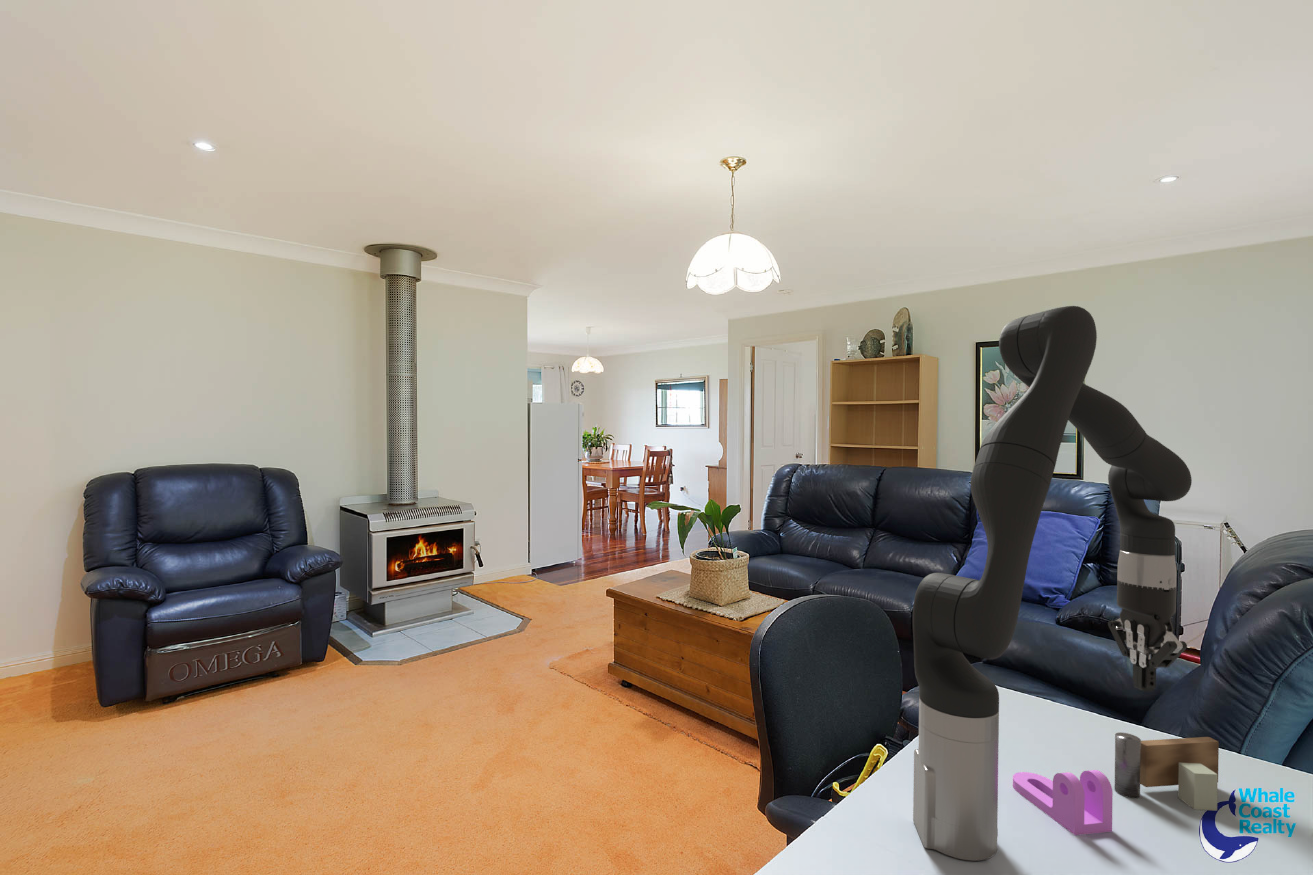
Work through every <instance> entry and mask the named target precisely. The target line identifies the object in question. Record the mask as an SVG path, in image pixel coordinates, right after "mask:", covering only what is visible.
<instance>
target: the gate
mask: <svg viewBox="0 0 1313 875" xmlns="http://www.w3.org/2000/svg"><path fill="white" fill-rule="evenodd" d="M1219 742H1220V741H1219V740H1216V739H1214V738H1212V737H1210V736H1198V737H1184V738H1183V737H1182V738H1180V737H1179V738H1166V739H1164V738H1163V739H1162V738H1161V739H1148V740H1147V739H1146V740H1141V766H1140V786H1141V785H1142V786H1143V787H1145V788H1155V787H1169V786H1170V787H1171V786H1178V778H1179V763H1199V764H1202V765H1204V766H1205V767H1207V768H1208V769H1210V770H1211V771H1213V772H1215V773H1216V774H1218V775H1219V754H1220V752H1219V751H1220V750H1219V746H1220V745H1219V744H1220V743H1219Z"/></svg>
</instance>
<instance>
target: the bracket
mask: <svg viewBox="0 0 1313 875" xmlns="http://www.w3.org/2000/svg"><path fill="white" fill-rule="evenodd" d="M1012 788H1013V790H1014V791H1016V792H1017V793H1018V794H1020V795H1021V796H1022V797H1023V798H1024V799H1026V800H1027V801H1029V802H1030V803H1031V804H1032V805H1034V806H1036V807H1037V808H1038V809H1039V810H1040V811H1042V812H1043V813H1045V814H1046V815H1047V816H1049V817H1050V818H1052V820H1054V821H1055V822H1057V823H1058V824H1059V825H1061V826H1062V827H1063V828H1065V829H1066V830H1067V831H1069V832H1070V833H1071V834H1073V836H1079V835H1090V834H1100V833H1101V834H1102V833H1107V832H1109V833H1110V832H1113V788H1112V784H1111V782H1110V780H1109V778H1108V777H1107V776H1106V775H1105V774H1104V773H1103V772H1102V771H1100V770H1098V769H1090V770H1083V771H1082V772H1081V773H1080V776H1079V778H1078V776H1076V775H1075V774H1074V773H1072V772H1069V771H1067V772H1057V773H1055V774H1054V775H1053V778H1052V779H1051V778H1048V777H1046V776H1043V775H1041V774H1038V773H1034V772H1029V771H1028V772H1027V771H1020V772H1019V771H1018V772H1015V773H1014V774H1013V775H1012Z"/></svg>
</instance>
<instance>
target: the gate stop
mask: <svg viewBox="0 0 1313 875" xmlns="http://www.w3.org/2000/svg"><path fill="white" fill-rule="evenodd" d="M1218 783H1219V773H1218V774H1216V773H1215V772H1213V771H1211V770H1210V769H1208V768H1207V767H1205V766H1204V765H1202V764H1199V763H1179V778H1178V785H1177V787H1178V788H1177V789H1178V791H1177V794H1178V796H1177V798H1179V800H1181V801H1182V802H1184V803H1185V804H1186V805H1188V806H1189V807H1190V808H1192V809H1193V810H1198V811H1218Z"/></svg>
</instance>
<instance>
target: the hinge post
mask: <svg viewBox="0 0 1313 875" xmlns="http://www.w3.org/2000/svg"><path fill="white" fill-rule="evenodd" d="M1114 735H1115V736H1114V739H1115V740H1114V791H1115V792H1116V793H1117V794H1118V795H1121V796H1123V797H1127V798H1130V799H1138V798H1140V797H1141V784H1140V766H1141V741H1142V739H1141V738H1140V737H1139V736H1136V735H1134V734H1131V733H1128V732H1116V733H1115V734H1114Z"/></svg>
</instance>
